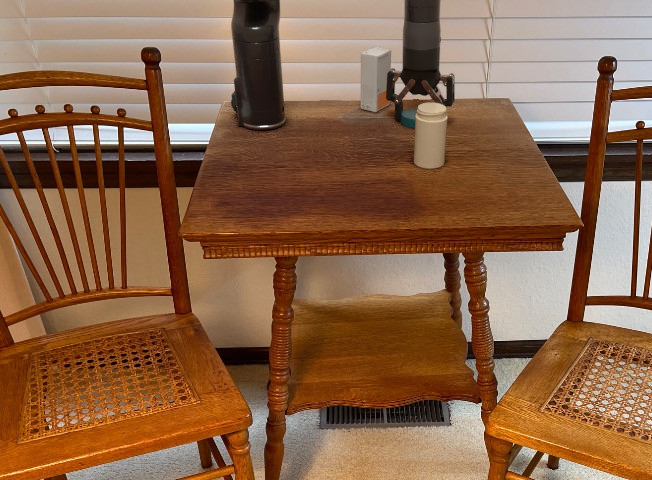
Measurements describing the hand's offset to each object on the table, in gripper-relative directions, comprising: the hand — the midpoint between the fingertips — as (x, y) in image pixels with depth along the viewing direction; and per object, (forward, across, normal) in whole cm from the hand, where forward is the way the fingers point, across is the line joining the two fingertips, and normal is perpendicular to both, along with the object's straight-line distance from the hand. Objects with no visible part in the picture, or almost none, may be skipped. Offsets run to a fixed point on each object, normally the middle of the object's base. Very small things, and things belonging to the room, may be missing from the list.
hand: (419, 122), depth 160 cm
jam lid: (-2, -1, 0) cm, 2 cm away
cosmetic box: (0, -12, +6) cm, 13 cm away
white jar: (0, +6, -19) cm, 20 cm away
